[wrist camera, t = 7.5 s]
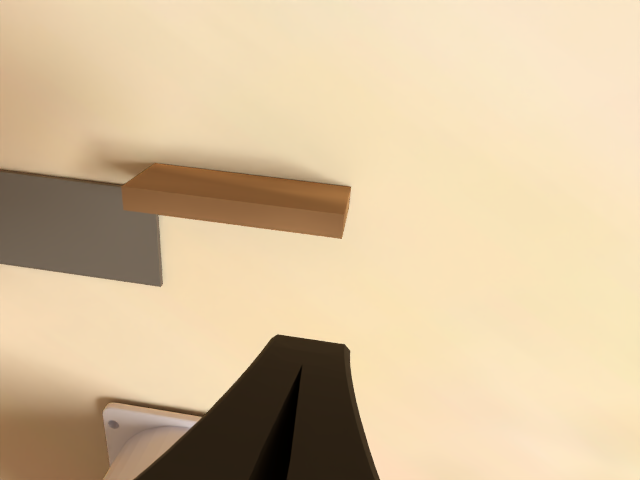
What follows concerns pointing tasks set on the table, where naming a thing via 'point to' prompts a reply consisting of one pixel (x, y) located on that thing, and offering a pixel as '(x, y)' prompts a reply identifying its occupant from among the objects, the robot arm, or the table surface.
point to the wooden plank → (239, 199)
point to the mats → (76, 229)
